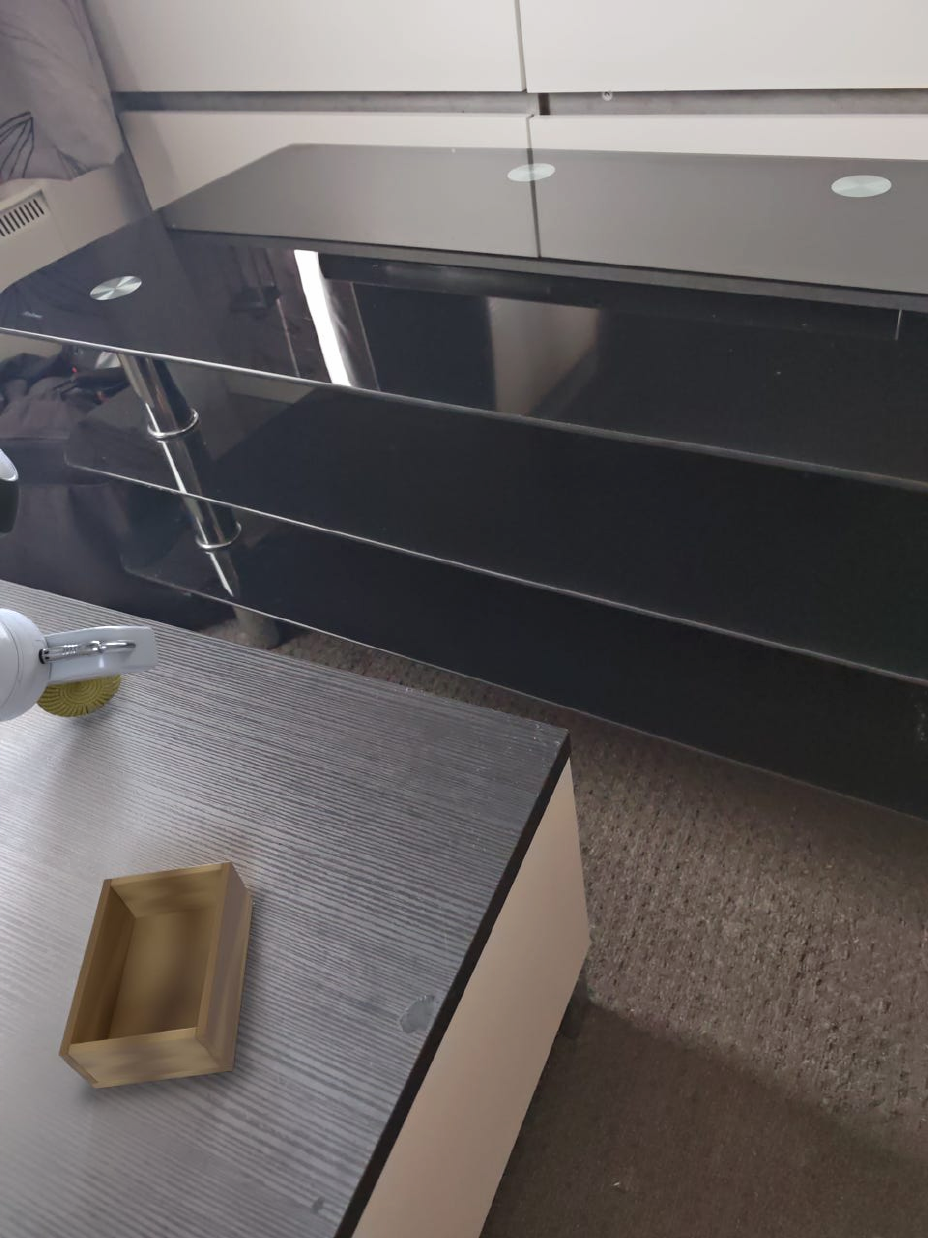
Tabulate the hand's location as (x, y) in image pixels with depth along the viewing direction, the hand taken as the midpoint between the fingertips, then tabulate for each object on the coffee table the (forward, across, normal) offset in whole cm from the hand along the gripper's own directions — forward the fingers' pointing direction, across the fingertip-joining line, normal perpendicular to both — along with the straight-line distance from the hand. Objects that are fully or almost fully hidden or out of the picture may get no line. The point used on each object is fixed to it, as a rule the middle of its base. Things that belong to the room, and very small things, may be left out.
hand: (72, 664), depth 83 cm
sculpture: (+3, 0, +4) cm, 5 cm away
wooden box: (-17, -13, +25) cm, 33 cm away
